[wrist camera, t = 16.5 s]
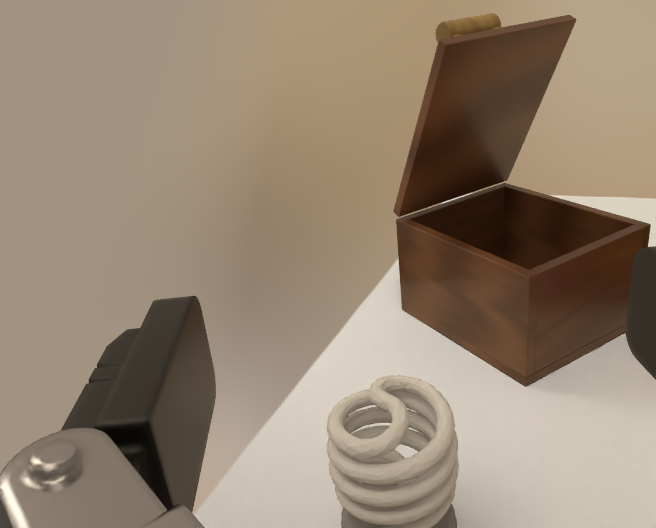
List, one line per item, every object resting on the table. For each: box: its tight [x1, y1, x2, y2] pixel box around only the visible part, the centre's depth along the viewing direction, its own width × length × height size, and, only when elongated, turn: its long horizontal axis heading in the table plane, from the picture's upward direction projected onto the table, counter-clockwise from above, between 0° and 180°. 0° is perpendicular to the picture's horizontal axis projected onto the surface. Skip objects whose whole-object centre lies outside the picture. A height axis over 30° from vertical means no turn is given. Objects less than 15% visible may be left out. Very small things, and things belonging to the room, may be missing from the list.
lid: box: [394, 14, 576, 217], centre depth 49 cm, size 15×13×5 cm
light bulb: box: [327, 375, 459, 528], centre depth 27 cm, size 6×6×12 cm
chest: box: [396, 183, 651, 386], centre depth 49 cm, size 15×13×9 cm
